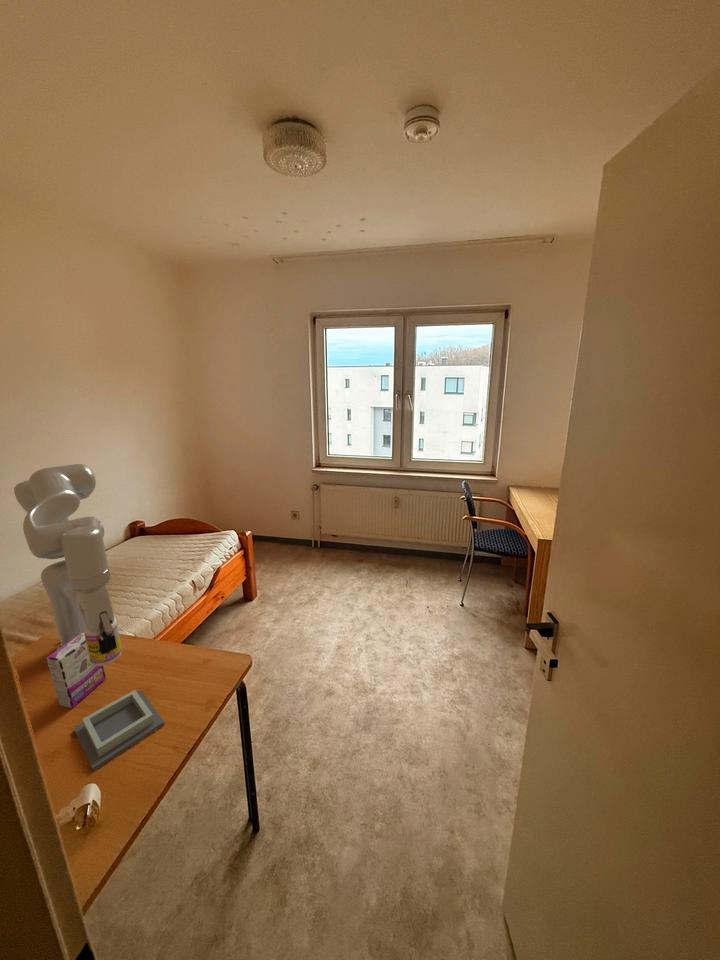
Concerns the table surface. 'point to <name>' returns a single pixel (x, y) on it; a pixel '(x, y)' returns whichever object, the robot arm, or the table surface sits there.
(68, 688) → the candy bar box
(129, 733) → the tray
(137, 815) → the table surface
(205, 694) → the table surface
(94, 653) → the supplement bottle
